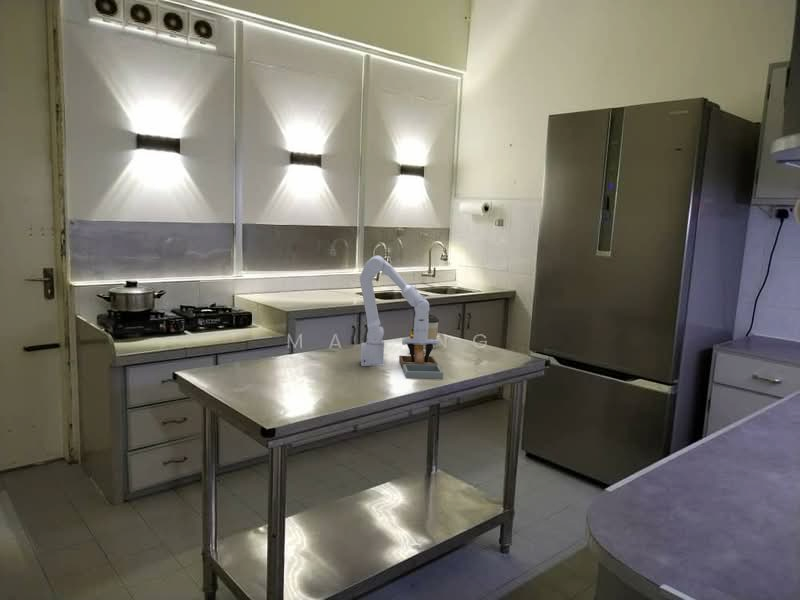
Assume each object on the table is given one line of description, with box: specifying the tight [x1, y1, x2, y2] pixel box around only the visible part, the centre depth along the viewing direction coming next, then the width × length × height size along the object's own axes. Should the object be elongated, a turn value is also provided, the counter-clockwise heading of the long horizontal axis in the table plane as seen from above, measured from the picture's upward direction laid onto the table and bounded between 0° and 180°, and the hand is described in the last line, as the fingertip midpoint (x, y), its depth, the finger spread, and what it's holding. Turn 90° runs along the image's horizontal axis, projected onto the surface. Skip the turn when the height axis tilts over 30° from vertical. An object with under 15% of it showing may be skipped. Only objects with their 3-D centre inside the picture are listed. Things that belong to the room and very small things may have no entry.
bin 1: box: [398, 355, 439, 370], centre depth 235 cm, size 14×12×3 cm
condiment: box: [409, 327, 424, 356], centre depth 254 cm, size 7×8×12 cm
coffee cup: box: [423, 314, 440, 350], centre depth 269 cm, size 9×9×15 cm
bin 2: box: [402, 364, 444, 380], centre depth 222 cm, size 14×11×3 cm
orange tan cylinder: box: [414, 349, 425, 363], centre depth 234 cm, size 4×4×6 cm
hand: (419, 362), depth 235 cm, fingers open, 5 cm apart
